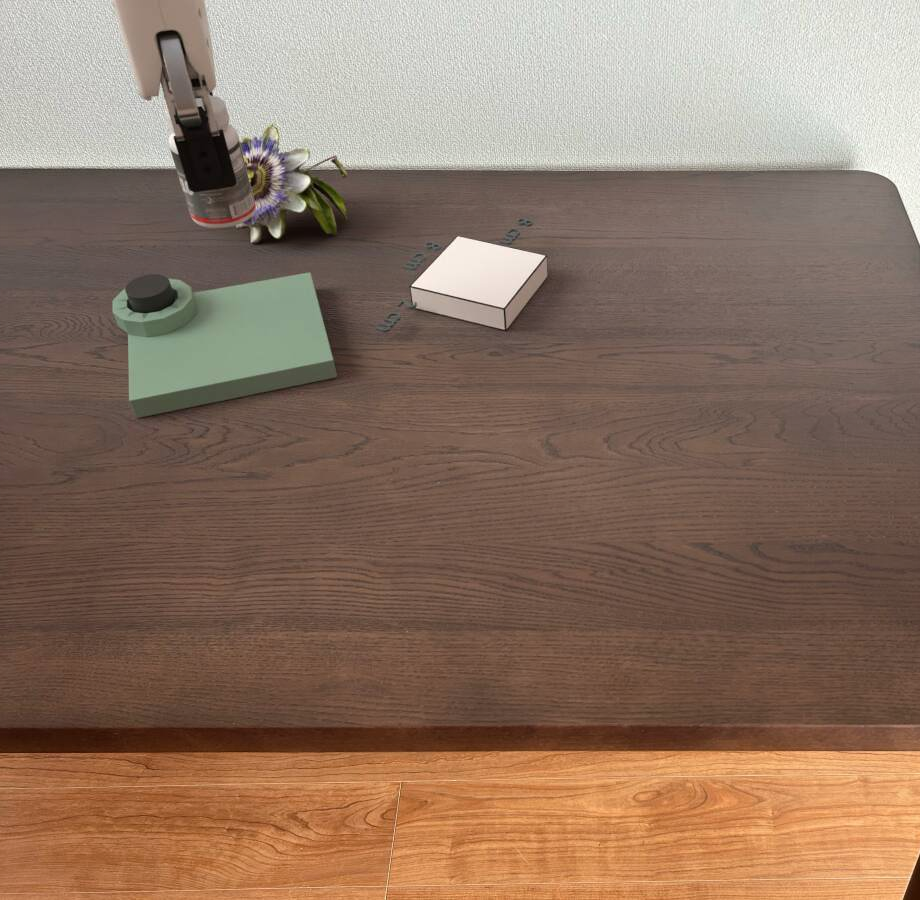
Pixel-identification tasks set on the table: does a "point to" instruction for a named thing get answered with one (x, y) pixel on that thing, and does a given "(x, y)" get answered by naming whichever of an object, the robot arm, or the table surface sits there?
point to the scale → (224, 343)
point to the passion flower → (285, 187)
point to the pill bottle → (226, 202)
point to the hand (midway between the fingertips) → (210, 167)
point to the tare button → (150, 293)
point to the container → (476, 281)
